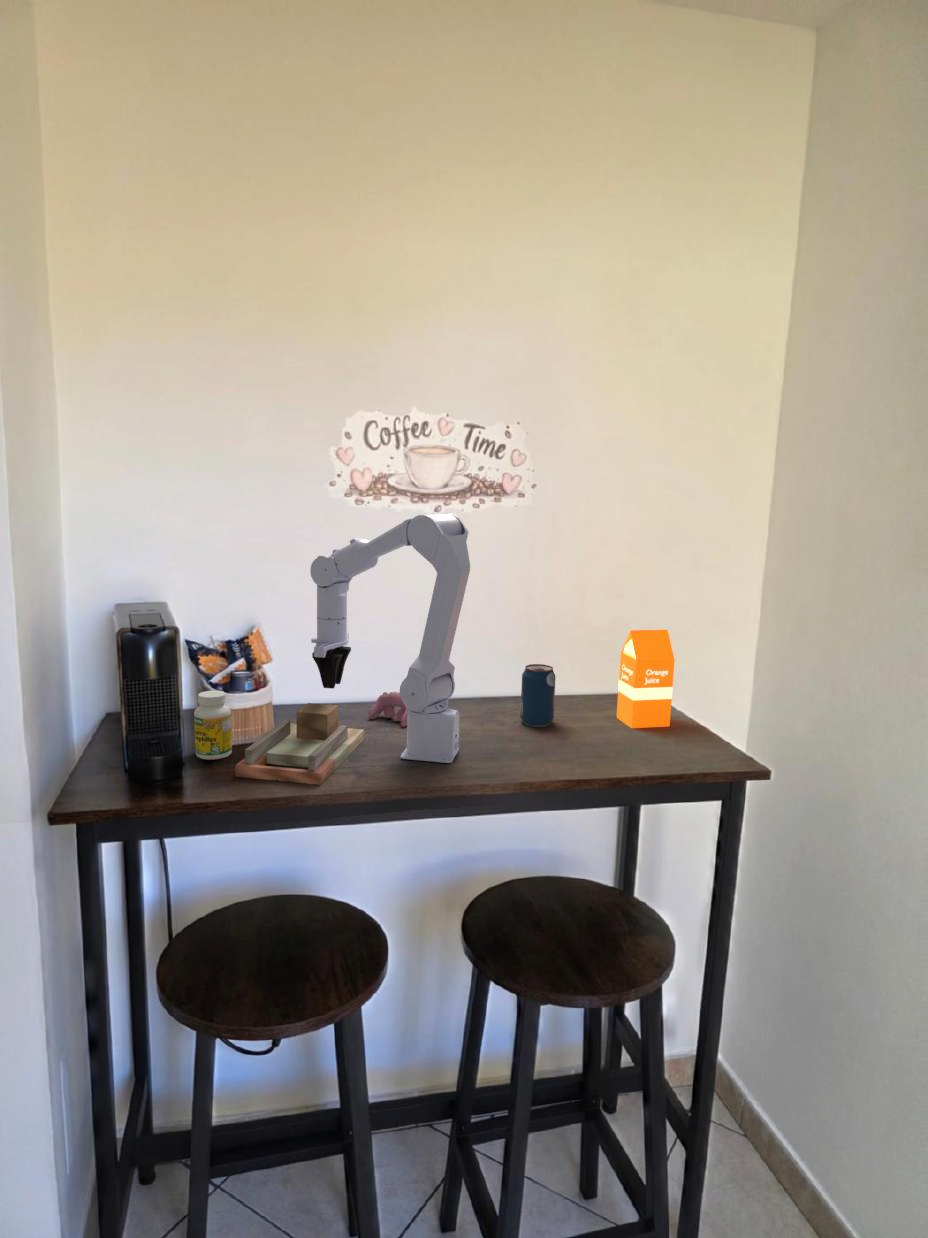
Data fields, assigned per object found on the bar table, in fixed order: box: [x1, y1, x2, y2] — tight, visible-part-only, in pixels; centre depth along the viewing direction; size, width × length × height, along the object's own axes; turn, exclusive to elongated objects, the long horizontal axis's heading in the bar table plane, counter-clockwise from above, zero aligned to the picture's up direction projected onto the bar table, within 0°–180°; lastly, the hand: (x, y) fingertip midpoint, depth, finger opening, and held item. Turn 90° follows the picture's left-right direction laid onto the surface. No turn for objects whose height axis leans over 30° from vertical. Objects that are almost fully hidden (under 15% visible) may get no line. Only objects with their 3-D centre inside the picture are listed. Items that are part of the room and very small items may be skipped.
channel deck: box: [234, 720, 365, 786], centre depth 149 cm, size 15×24×4 cm, turn 170°
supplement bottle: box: [193, 690, 233, 761], centre depth 148 cm, size 6×6×11 cm
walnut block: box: [295, 702, 339, 740], centre depth 156 cm, size 6×6×5 cm
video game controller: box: [368, 691, 407, 728], centre depth 172 cm, size 10×5×7 cm, turn 58°
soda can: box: [519, 663, 556, 728], centre depth 173 cm, size 7×7×12 cm
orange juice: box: [616, 629, 676, 729], centre depth 175 cm, size 8×9×20 cm
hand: (331, 685), depth 162 cm, fingers open, 3 cm apart
